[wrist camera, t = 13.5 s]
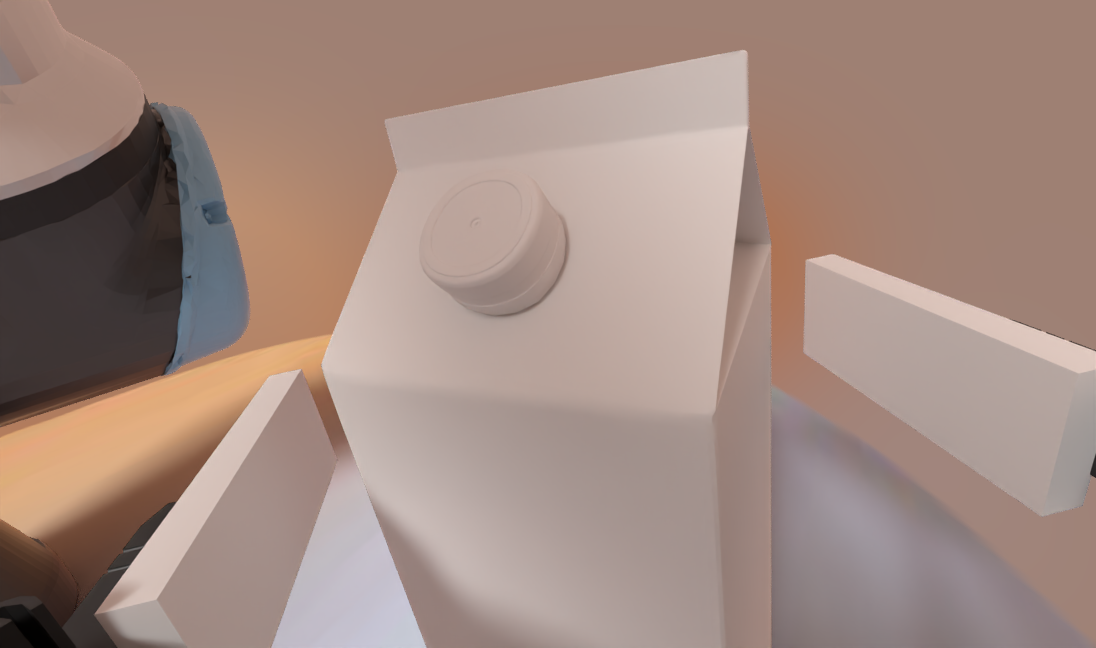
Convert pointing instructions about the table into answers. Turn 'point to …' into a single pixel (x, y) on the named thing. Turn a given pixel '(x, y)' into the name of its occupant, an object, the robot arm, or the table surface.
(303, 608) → the table surface
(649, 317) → the milk carton
